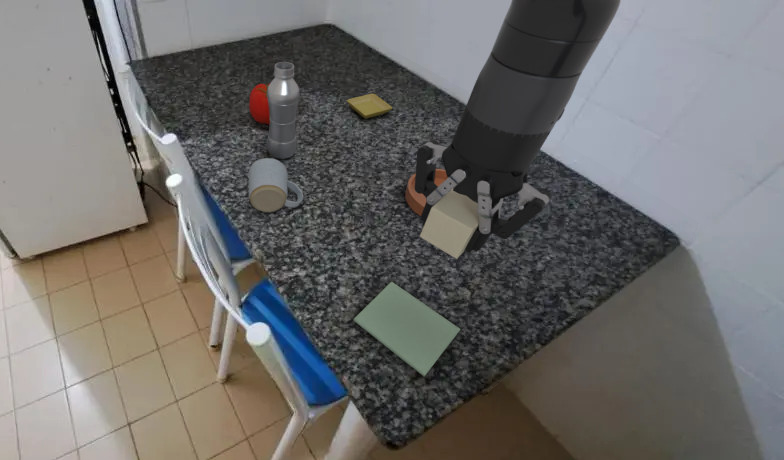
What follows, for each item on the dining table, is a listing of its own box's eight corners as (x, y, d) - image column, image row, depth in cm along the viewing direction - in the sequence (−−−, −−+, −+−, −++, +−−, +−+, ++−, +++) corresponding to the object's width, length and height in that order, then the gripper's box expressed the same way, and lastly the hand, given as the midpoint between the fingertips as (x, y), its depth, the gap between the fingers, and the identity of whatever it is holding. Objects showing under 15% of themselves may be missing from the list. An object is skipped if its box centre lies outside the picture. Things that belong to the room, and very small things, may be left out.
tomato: (283, 136, 93) (284, 102, 87) (241, 126, 96) (239, 93, 89) (297, 115, 100) (299, 82, 93) (258, 106, 102) (257, 74, 96)
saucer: (363, 122, 98) (365, 115, 96) (344, 106, 103) (346, 99, 102) (391, 115, 100) (393, 107, 99) (371, 100, 106) (373, 92, 104)
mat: (459, 330, 58) (460, 329, 57) (424, 376, 53) (425, 375, 52) (390, 283, 64) (391, 281, 63) (353, 320, 59) (353, 318, 58)
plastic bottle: (296, 162, 86) (303, 73, 71) (266, 162, 86) (266, 73, 71) (296, 146, 90) (301, 58, 76) (266, 145, 90) (267, 58, 76)
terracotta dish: (491, 201, 78) (496, 191, 76) (457, 237, 71) (462, 227, 69) (427, 169, 85) (431, 160, 83) (391, 199, 78) (393, 190, 76)
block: (476, 237, 48) (493, 208, 45) (456, 259, 46) (473, 229, 42) (439, 217, 51) (453, 187, 47) (419, 236, 48) (431, 207, 45)
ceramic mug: (248, 215, 74) (248, 184, 68) (249, 187, 80) (248, 156, 74) (304, 215, 74) (308, 184, 69) (300, 187, 80) (304, 156, 75)
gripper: (420, 95, 38) (382, 220, 50) (582, 159, 30) (491, 287, 43) (458, 72, 41) (414, 194, 53) (610, 124, 34) (519, 251, 46)
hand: (449, 235), depth 48 cm, fingers closed on block, 5 cm apart
